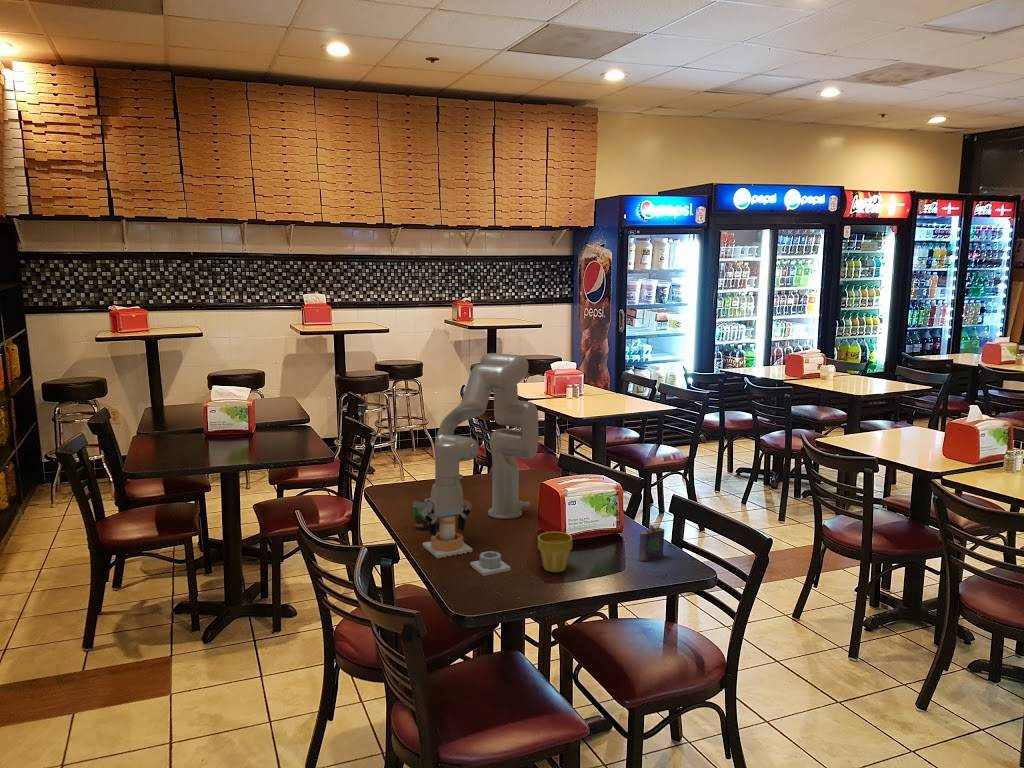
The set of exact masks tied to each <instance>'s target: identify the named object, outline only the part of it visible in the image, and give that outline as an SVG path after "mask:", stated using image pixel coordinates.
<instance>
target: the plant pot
mask: <svg viewBox="0 0 1024 768" xmlns="http://www.w3.org/2000/svg"><path fill="white" fill-rule="evenodd" d="M537 548H538V550H539V551H540V552H539V553H540V557H541V560H542V561H541V562H542V565H543V569H544V570H545V571H547V572H551V573H561V572H564V571H565V570H566V569H567V565H568V560H569V556H570V551H571V550H572V549H573V536H572V535H570V534H569V533H567V532H561V531H546V532H543V533H542V532H541V533H540V534H539V535H538V536H537Z"/></svg>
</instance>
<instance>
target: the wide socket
mask: <svg viewBox="0 0 1024 768" xmlns="http://www.w3.org/2000/svg"><path fill="white" fill-rule="evenodd" d="M422 547H423V548H425V549H426V551H428V552H429V553H431V554H432V555H433V556H434V557H435V558H436V559H437V558H438V559H441V558H442V557H443V558H447V556H448V557H452V555H454V556H458V555H457V554H459V555H464V554H468V553H467V552H469V553H473V548H472V547H470V546H469V545H468V544H467V543H465V542H464V535H462V534H461V533H459V532H456V531H455V540H451V541H442V540H440V532H436V536H433V535H431V537H430V541H425V542H422ZM463 553H464V554H463Z"/></svg>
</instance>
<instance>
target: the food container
mask: <svg viewBox="0 0 1024 768" xmlns="http://www.w3.org/2000/svg"><path fill="white" fill-rule="evenodd" d="M428 505H430V497H425V498H423V499H421V500H419V501H417V500H413V502H412V507H413V511H414V512H413V513H414V521H415V522H414V524H415V529H418V528H420V529H419V530H429V522H428V521H427V520H426V519H425V518H424V516H423V515H422V513H421V510H422V509H424V508H425V507H427V506H428ZM427 514H428V516H429V517H430V515H431V514H432V513H430V511H429V512H428V513H427ZM439 518H440V517H438V519H437V520H436V521H435V524H436V526H438V525H439V526H440V522H439ZM439 526H438V527H439Z"/></svg>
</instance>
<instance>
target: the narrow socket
mask: <svg viewBox="0 0 1024 768" xmlns="http://www.w3.org/2000/svg"><path fill="white" fill-rule="evenodd" d="M478 557H479V560H475V561H469V566H470V565H471V566H472V568H473V569H474V570H475V571H476V572H477V573H479V574H480V575H481V576H483V577H485V576H490V575H491V576H492V575H495V574H499V573H505V572H510V571H511V569H512V568H511V566H509V565H508V563H506V562H504V561H502V554H501V553H499V552H498V551H491V550H489V551H483V552H481V553H480V554H479V556H478ZM471 566H470V567H471Z"/></svg>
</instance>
